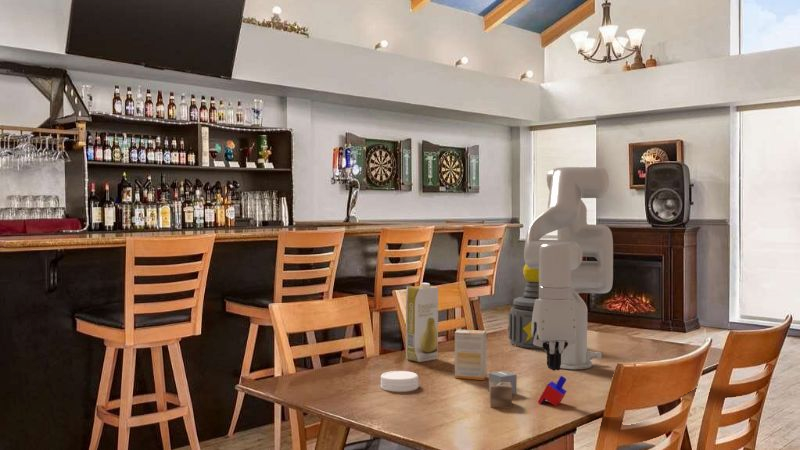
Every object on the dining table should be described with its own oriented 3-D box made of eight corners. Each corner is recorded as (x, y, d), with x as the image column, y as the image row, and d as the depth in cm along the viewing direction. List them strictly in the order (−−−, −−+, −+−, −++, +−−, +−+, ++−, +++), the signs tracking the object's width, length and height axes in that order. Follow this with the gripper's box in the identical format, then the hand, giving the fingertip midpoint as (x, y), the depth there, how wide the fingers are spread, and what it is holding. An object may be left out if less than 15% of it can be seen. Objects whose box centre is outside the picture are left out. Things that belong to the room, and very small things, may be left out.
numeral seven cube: (510, 402, 171) (510, 381, 170) (511, 408, 166) (512, 386, 165) (489, 401, 171) (489, 381, 171) (490, 407, 166) (490, 386, 166)
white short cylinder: (374, 385, 187) (374, 372, 187) (408, 381, 191) (409, 369, 191) (389, 394, 178) (389, 380, 178) (424, 390, 182) (424, 377, 182)
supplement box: (487, 377, 196) (487, 330, 196) (483, 381, 191) (483, 333, 191) (458, 374, 199) (458, 328, 198) (454, 378, 194) (454, 331, 194)
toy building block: (552, 412, 168) (568, 384, 166) (537, 402, 169) (552, 374, 167) (556, 408, 171) (572, 381, 169) (542, 398, 173) (557, 371, 171)
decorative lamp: (502, 346, 239) (503, 259, 239) (515, 337, 257) (516, 255, 256) (557, 351, 232) (558, 261, 231) (567, 341, 249) (568, 257, 249)
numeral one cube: (503, 389, 183) (504, 370, 183) (516, 394, 178) (516, 374, 178) (488, 392, 180) (488, 372, 180) (500, 396, 176) (501, 376, 176)
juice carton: (419, 363, 212) (420, 284, 212) (402, 359, 218) (402, 282, 218) (441, 359, 219) (442, 282, 218) (424, 355, 224) (424, 280, 224)
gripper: (574, 290, 175) (573, 363, 176) (519, 292, 171) (518, 367, 172) (590, 294, 168) (589, 370, 168) (533, 297, 164) (532, 374, 164)
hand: (553, 368), depth 170 cm, fingers closed
